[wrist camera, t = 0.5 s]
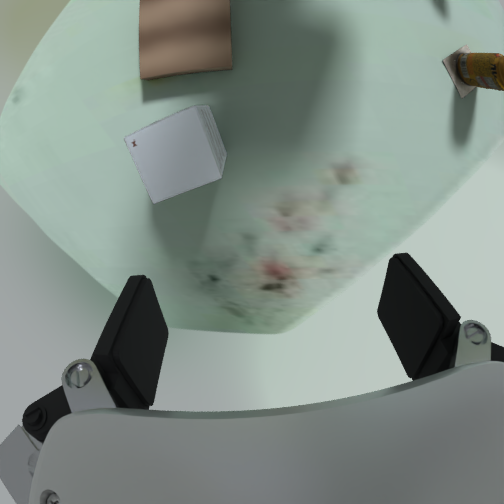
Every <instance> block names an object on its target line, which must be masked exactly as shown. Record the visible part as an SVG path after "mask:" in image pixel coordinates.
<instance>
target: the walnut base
mask: <svg viewBox="0 0 504 504" xmlns="http://www.w3.org/2000/svg"><path fill="white" fill-rule="evenodd" d="M139 54H140V79H143V80H153V79H158V78H164V77H170V76H176V75H183V74H191V73H199V72H209V71H221V70H232V44H231V16H230V0H140V12H139Z"/></svg>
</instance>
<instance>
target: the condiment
mask: <svg viewBox="0 0 504 504" xmlns="http://www.w3.org/2000/svg"><path fill="white" fill-rule="evenodd" d="M443 62H444V64H445V66H446V68H447V70H448V72H449V74H450V76H451V78H452V80H453V82H454V84H455V86H456V88H457V90H458V92H459V94H460V96H461V98H463V97H465V96H466V95H467V94H468V93H470V92H471V91H472V90H473V89H474V88H475V87H481V88H486V89H495V90H499V91H501V90H502V91H504V56H503V55H502V54H499V53H471V51H470V49H469V47H468V46H467V45H465V46H463V47H462V48H460V49H459V50H457V51H456V52H454V53H453V54H451V55H450V56H448V57H447V58H445V59H444V60H443ZM461 82H462V83H461ZM463 83H464V84H463Z"/></svg>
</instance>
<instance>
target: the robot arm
mask: <svg viewBox="0 0 504 504" xmlns="http://www.w3.org/2000/svg"><path fill="white" fill-rule="evenodd" d="M377 312H378V317H379V319H380V321H381V323H382V325H383V327H384V329H385V331H386V333H387V334H388V336H389V338H390V340H391V342H392V344H393V346H394V348H395V350H396V352H397V355H398V356H399V359H400V361H401V363H402V365H403V367H404V369H405V371H406V373H407V375H408V377H409V378H412V380H413V381H411V382H408V383H404V384H401V385H397V386H394V387H390V388H386V389H383V390H379V391H374V392H371V393H366V394H362V395H357V396H352V397H347V398H342V399H337V400H332V401H326V402H321V403H313V404H307V405H299V406H291V407H282V408H273V409H262V410H247V411H221V412H189V411H187V412H186V411H159V410H149V406H152V405H153V403H154V399H155V394H156V388H157V384H158V379H159V375H160V370H161V366H162V361H163V357H164V352H165V347H166V344H167V340H168V328H167V325H166V322H165V320H164V317H163V314H162V311H161V309H160V306H159V303H158V300H157V297H156V294H155V291H154V288H153V285H152V282H151V280H150V279H149V278H146V276H145V275H135V276H130V277H129V279H128V281H127V283H126V285H125V287H124V289H123V291H122V293H121V294H120V296H119V298H118V300H117V302H116V304H115V306H114V309H113V311H112V313H111V315H110V317H109V319H108V321H107V323H106V325H105V327H104V330H103V332H102V334H101V336H100V338H99V340H98V343H97V345H96V348H95V350H94V352H93V354H92V357H91V359H90V360H88V359H78V360H76V361H73V362H72V363H71V364H69V365H68V366H67V367H66V369H65V370H64V372H63V374H62V386H60V387H59V388H57V389H55V390H54V391H52V392H50V393H49V394H47V395H45V396H44V397H42V398H40V399H39V400H37V401H35V402H34V403H32V404H31V405H29V406H28V407H27V409H26V410H25V412H24V414H23V419H22V422H23V426H22V427H21V426H20V425H18V426H17V427H16V428H15V429H14V430H13V431H12V432H11V433H10V435H9V436H8V437H7V438H6V439H5V440H4V441H3V442H2V444H1V445H0V478H1V480H2V482H3V483H4V485H5V486H6V488H7V490H8V491H9V493H10V494H11V496H12V497H13V499H14V500H15V502H16V503H17V504H504V347H502V346H499V345H497V344H495V343H492V342H491V336H490V333H489V331H488V329H487V328H486V327H485V326H484V325H483V324H481V323H480V322H478V321H474V320H467V321H465V322H463V323H462V324H460V322H459V320H460V318H461V317H460V315H459V314H458V313H457V311H456V310H455V309H454V308H453V306H452V305H451V303H450V302H449V301H448V300H447V298H446V297H445V296H444V295H443V293H442V292H441V291H440V290H439V288H438V287H437V286H436V285H435V284H434V283H433V281H432V280H431V279H430V278H429V276H428V275H426V273H425V272H424V271H423V269H422V268H421V267H420V266H419V265H418V264H417V263H416V261H415V260H414V259H413V258H412V257H411V256H410V255H409V254H408V253H399V254H394V255H393V257H392V258H390V260H389V263H388V268H387V273H386V278H385V281H384V286H383V290H382V294H381V298H380V302H379V306H378V310H377Z"/></svg>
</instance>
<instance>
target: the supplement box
mask: <svg viewBox="0 0 504 504" xmlns="http://www.w3.org/2000/svg"><path fill="white" fill-rule="evenodd" d="M124 140H125V142H126V145H127V147H128V149H129V151H130V154H131V156H132V158H133V160H134V163H135V165H136V167H137V170H138V172H139V174H140V176H141V179H142V181H143V183H144V185H145V187H146V190H147V192H148V194H149V196H150V198H151V200H152V202H153V204H155V203H158V202H161V201H163V200H166V199H169V198H171V197H174V196H176V195H179V194H182V193H184V192H187V191H189V190H192V189H195V188H197V187H200V186H203V185H206V184H208V183H211V182H214V181H216V180H219V179H221V178H222V174H223V170H224V165H225V161H226V157H227V152H226V150H225V147H224V144H223V141H222V139H221V136H220V133H219V131H218V128H217V125H216V123H215V120H214V117H213V115H212V112H211V109H210V107H209V105H195V106H191V107H189V108H186V109H184V110H182V111H179V112H177V113H174V114H172V115H170V116H167V117H165V118H163V119H161V120H158V121H156V122H154V123H152V124H150V125H148V126H146V127H144V128H142V129H140V130H138V131H136V132H134V133H132V134H130V135H128V136H126V137H124Z"/></svg>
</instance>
